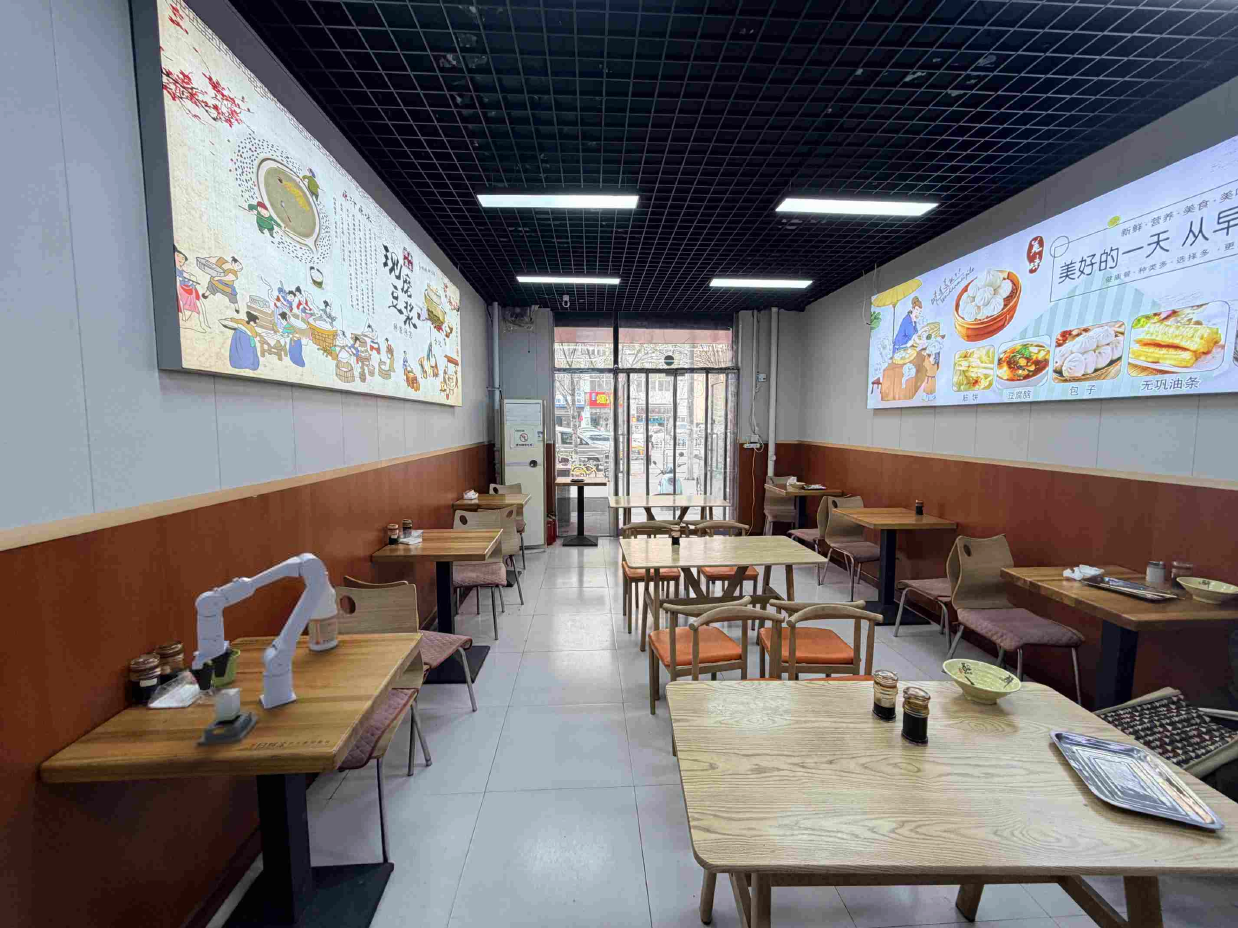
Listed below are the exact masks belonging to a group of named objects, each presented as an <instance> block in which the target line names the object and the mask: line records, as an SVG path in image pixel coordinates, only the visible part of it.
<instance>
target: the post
mask: <svg viewBox="0 0 1238 928" xmlns="http://www.w3.org/2000/svg"><path fill="white" fill-rule="evenodd" d="M240 693H241V692H240V688H239V687H238V688H227V689H222V690H220V692H218V693H217V694H216V695H215V696H214V710H215V712H214V714H215V717H214V720H215V721H222V720H231V719H234V718H235V717H236V716H237V715H238V714H239V713H240V712H242V707H241V695H240Z"/></svg>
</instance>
